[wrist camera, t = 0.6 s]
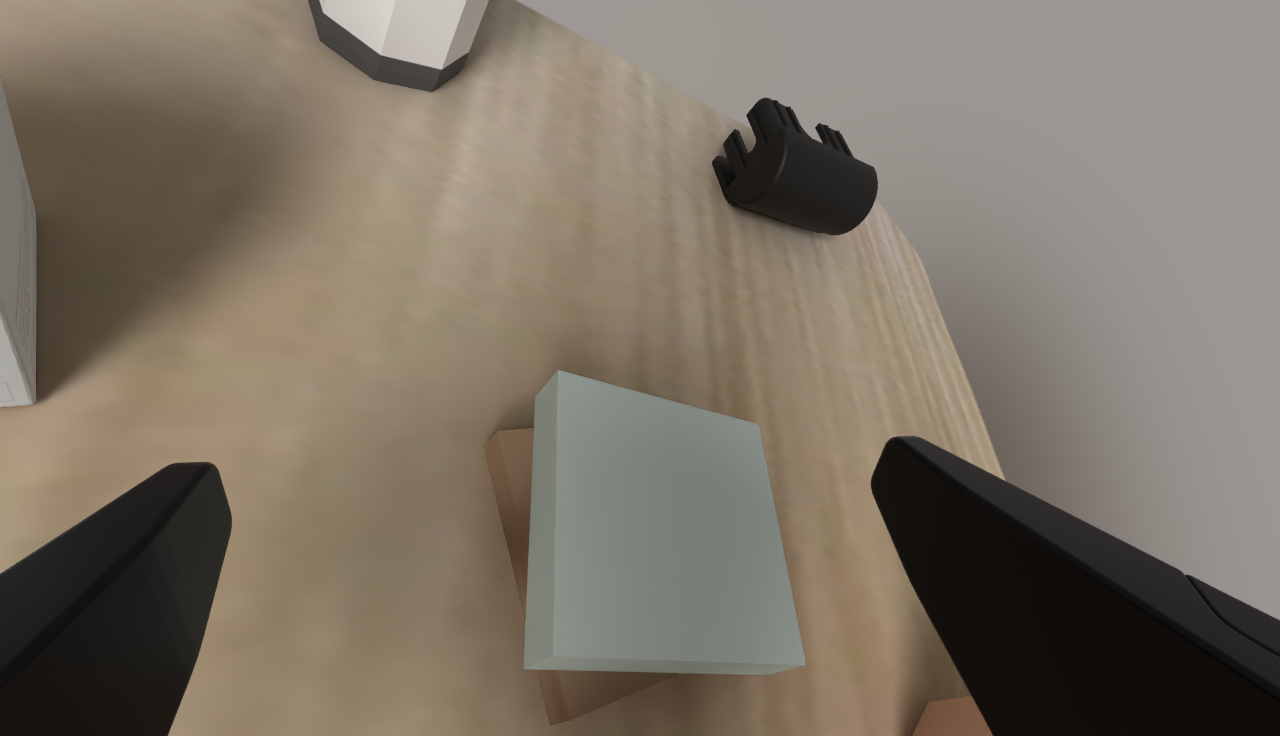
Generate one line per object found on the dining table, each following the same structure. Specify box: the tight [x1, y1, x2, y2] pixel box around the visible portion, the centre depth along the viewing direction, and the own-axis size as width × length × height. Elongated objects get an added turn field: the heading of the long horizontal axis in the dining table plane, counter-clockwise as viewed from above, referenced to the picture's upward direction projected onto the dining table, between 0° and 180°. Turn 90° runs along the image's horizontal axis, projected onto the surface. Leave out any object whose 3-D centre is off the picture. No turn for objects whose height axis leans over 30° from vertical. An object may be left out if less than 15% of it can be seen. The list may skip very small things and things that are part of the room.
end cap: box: [712, 98, 878, 235], centre depth 45 cm, size 10×7×7 cm
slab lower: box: [484, 428, 678, 725], centre depth 25 cm, size 10×10×2 cm
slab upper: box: [524, 370, 806, 675], centre depth 23 cm, size 10×10×2 cm
